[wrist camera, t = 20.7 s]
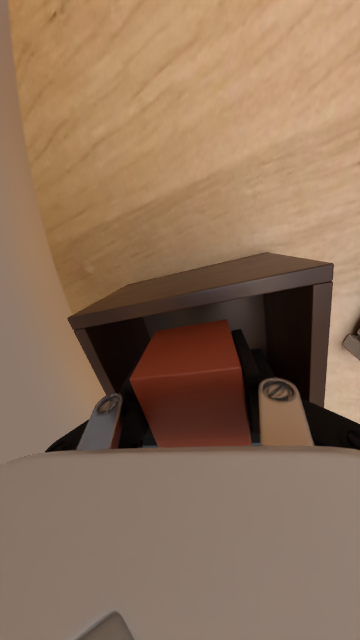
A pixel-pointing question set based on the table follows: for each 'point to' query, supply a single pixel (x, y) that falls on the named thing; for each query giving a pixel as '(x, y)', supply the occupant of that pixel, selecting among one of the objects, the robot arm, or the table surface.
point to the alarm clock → (353, 344)
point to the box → (220, 317)
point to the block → (193, 387)
